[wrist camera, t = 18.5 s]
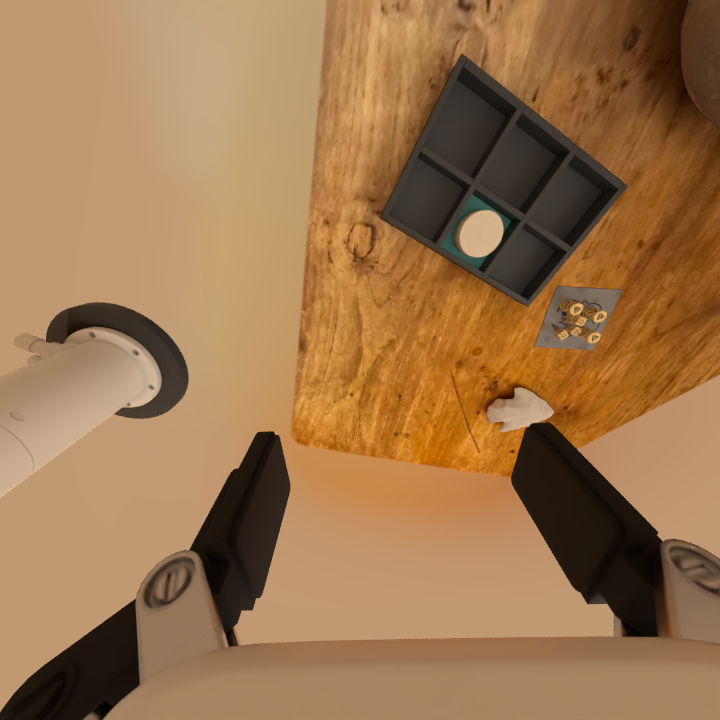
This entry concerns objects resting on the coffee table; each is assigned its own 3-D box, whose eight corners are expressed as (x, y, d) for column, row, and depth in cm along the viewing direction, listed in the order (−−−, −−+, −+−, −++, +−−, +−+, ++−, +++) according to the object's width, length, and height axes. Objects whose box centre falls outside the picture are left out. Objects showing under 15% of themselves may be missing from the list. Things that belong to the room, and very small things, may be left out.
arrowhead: (476, 423, 42) (539, 432, 42) (481, 434, 40) (548, 443, 40) (493, 379, 39) (561, 389, 39) (500, 388, 36) (573, 399, 36)
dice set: (562, 298, 33) (573, 302, 31) (603, 301, 33) (616, 305, 31) (547, 336, 35) (556, 342, 33) (585, 339, 35) (596, 345, 33)
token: (444, 243, 30) (450, 244, 28) (469, 202, 28) (478, 200, 26) (476, 262, 31) (484, 265, 28) (502, 224, 29) (513, 224, 27)
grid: (379, 218, 29) (380, 217, 27) (453, 68, 24) (461, 52, 22) (517, 301, 33) (528, 307, 31) (608, 189, 28) (628, 186, 26)
